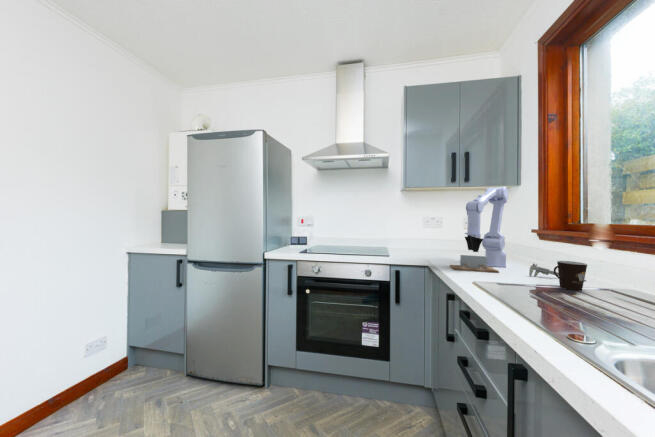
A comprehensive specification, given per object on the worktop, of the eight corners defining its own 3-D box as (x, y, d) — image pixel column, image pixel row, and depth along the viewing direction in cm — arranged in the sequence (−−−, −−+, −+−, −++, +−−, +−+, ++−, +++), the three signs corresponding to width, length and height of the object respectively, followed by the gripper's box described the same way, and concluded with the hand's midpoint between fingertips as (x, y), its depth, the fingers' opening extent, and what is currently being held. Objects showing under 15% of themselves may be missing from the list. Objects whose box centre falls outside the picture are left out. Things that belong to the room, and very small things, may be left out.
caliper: (529, 276, 125) (530, 263, 125) (529, 276, 126) (529, 262, 126) (586, 282, 117) (587, 267, 117) (585, 281, 118) (586, 267, 118)
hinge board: (490, 268, 140) (491, 262, 140) (498, 272, 130) (499, 266, 130) (449, 266, 144) (449, 260, 144) (454, 270, 134) (454, 263, 134)
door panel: (485, 268, 136) (485, 256, 136) (487, 268, 135) (487, 256, 134) (460, 266, 139) (460, 254, 139) (461, 267, 137) (461, 255, 137)
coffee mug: (577, 286, 107) (578, 261, 107) (592, 292, 98) (593, 265, 98) (542, 283, 110) (543, 259, 110) (554, 289, 102) (555, 263, 101)
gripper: (461, 223, 145) (460, 248, 146) (469, 224, 131) (468, 252, 131) (475, 224, 144) (474, 249, 144) (485, 225, 130) (484, 253, 130)
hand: (472, 251), depth 138 cm, fingers open, 7 cm apart
